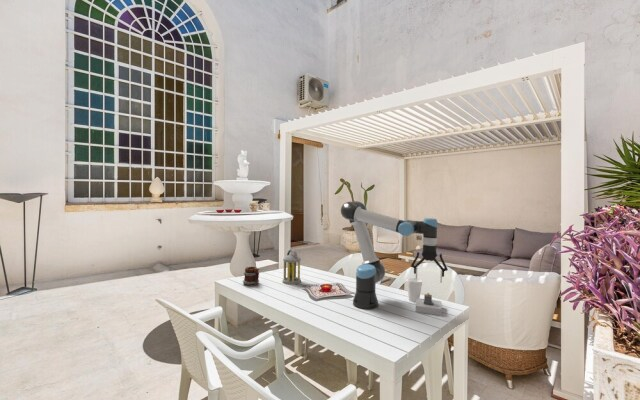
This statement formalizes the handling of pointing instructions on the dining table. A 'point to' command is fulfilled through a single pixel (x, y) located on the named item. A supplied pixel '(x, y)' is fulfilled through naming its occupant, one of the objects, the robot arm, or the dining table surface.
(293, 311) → the dining table surface
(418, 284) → the foam cup
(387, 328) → the dining table surface
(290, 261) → the lantern
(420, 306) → the socket plate
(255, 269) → the mug
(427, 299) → the plug
